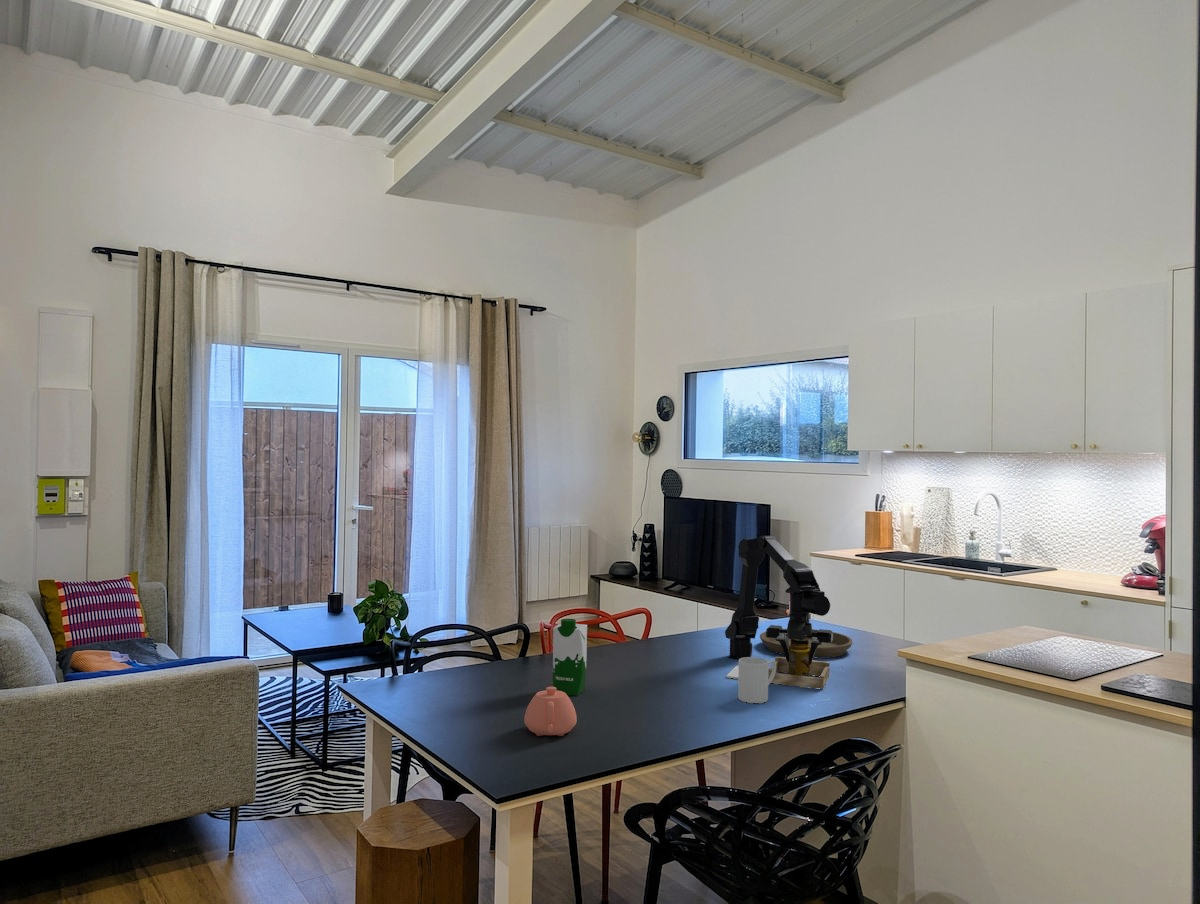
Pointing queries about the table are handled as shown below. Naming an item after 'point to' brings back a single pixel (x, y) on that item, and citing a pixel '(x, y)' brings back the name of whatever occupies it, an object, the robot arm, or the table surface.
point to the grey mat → (734, 673)
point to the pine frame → (803, 681)
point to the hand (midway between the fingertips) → (799, 663)
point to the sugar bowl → (550, 713)
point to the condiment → (799, 658)
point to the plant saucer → (824, 650)
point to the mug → (754, 679)
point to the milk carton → (569, 656)
